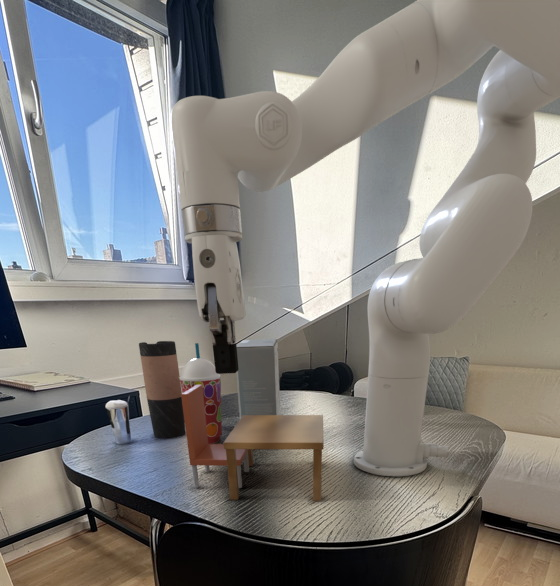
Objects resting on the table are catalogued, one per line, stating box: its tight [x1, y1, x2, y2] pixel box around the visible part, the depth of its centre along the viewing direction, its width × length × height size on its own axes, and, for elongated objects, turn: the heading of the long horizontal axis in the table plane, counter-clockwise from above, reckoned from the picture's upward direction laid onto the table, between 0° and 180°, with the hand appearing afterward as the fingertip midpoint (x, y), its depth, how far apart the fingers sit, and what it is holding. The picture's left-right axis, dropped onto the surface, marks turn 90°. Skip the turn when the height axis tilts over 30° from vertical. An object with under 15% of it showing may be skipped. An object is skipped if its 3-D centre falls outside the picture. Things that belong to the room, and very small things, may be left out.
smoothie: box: [179, 342, 223, 444], centre depth 85 cm, size 8×8×20 cm
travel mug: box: [138, 340, 186, 440], centre depth 91 cm, size 8×8×20 cm
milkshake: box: [105, 395, 132, 445], centre depth 88 cm, size 4×5×10 cm
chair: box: [181, 385, 250, 489], centre depth 65 cm, size 8×8×15 cm
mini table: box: [223, 414, 325, 502], centre depth 66 cm, size 14×16×9 cm
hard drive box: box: [235, 338, 282, 420], centre depth 86 cm, size 16×8×20 cm, turn 178°
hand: (227, 372), depth 61 cm, fingers closed
